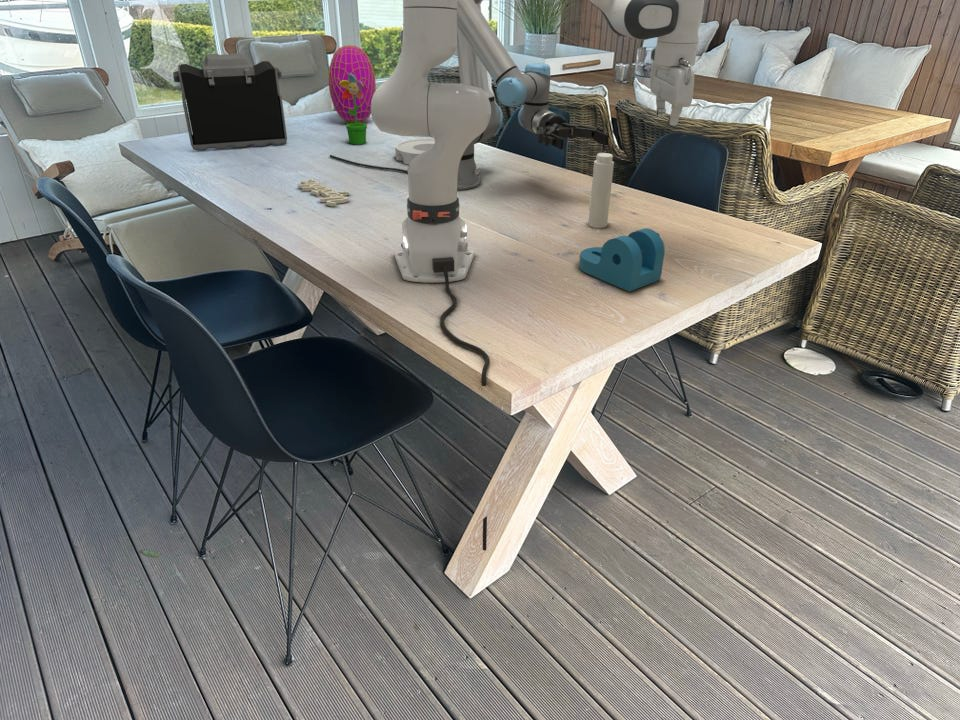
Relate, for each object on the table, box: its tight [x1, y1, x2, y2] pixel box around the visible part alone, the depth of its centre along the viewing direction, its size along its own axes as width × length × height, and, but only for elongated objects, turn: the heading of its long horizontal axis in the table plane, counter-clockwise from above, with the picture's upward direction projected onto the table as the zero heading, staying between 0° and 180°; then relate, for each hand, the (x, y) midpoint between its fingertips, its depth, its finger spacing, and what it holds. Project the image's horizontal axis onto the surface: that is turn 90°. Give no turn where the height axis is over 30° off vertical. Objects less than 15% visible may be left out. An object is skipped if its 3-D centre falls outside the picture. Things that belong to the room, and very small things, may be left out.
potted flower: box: [339, 73, 368, 145], centre depth 255 cm, size 9×8×25 cm
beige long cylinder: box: [587, 152, 615, 229], centre depth 180 cm, size 5×5×19 cm
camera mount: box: [578, 228, 665, 292], centre depth 154 cm, size 18×10×10 cm, turn 39°
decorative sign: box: [297, 178, 350, 207], centre depth 206 cm, size 26×1×10 cm
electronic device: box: [172, 52, 288, 152], centre depth 253 cm, size 37×22×30 cm, turn 111°
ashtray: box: [394, 138, 435, 166], centre depth 243 cm, size 23×23×4 cm
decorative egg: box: [328, 44, 377, 124], centre depth 286 cm, size 19×19×30 cm
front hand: (666, 120), depth 159 cm, fingers open, 8 cm apart
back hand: (585, 142), depth 183 cm, fingers open, 13 cm apart
